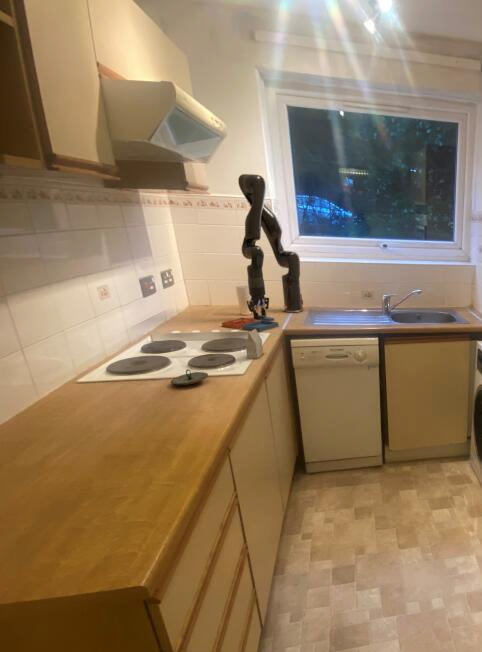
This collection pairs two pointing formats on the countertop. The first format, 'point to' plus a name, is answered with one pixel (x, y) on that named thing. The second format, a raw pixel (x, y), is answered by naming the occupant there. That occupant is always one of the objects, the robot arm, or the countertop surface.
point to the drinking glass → (243, 299)
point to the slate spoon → (265, 318)
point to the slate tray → (260, 325)
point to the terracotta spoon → (240, 321)
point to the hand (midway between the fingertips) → (260, 318)
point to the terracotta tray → (238, 326)
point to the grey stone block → (254, 345)
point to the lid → (189, 378)
